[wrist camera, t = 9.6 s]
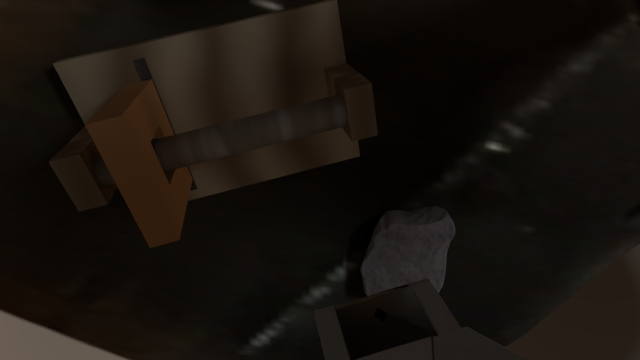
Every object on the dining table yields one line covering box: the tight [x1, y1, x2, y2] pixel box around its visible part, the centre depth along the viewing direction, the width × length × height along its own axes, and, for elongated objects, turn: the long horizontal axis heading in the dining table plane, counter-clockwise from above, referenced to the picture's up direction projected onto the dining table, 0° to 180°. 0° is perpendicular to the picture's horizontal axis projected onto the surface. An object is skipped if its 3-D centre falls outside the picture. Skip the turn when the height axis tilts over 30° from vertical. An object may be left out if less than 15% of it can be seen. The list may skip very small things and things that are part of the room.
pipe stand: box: [49, 0, 378, 212], centre depth 30 cm, size 22×14×8 cm, turn 101°
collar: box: [85, 79, 193, 248], centre depth 27 cm, size 2×9×9 cm, turn 11°
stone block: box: [360, 206, 455, 296], centre depth 44 cm, size 12×5×10 cm
